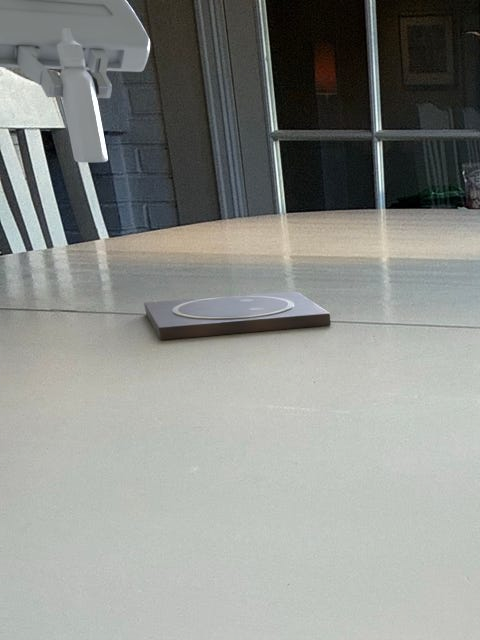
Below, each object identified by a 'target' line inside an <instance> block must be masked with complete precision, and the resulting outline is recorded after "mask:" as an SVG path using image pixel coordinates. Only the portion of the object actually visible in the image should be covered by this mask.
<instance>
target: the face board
mask: <svg viewBox="0 0 480 640" xmlns="http://www.w3.org/2000/svg"><path fill="white" fill-rule="evenodd" d="M143 305H144V311H145V314H146V316H147V318H148V319H149V321H150V323H151V325H152V327H153V328H154V330H155V332H156V334H157V336H158V338H159V339H160V341H168V340H169V341H170V340H178V339H190V338H201V337H202V338H203V337H212V336H226V335H236V334H249V333H258V332H259V333H260V332H271V331H281V330H291V329H292V330H293V329H304V328H314V327H315V328H317V327H327V326H331V324H332V323H331V314H330V312H329V311H327V310H325V309H324V308H322V307H321V306H320V305H318V304H316V303H315V302H314V301H312V300H311V299H309V298H307V297H306V296H305V295H303V294H301V293H300V292H298V291H296V290H295V291H283V292H269V293H256V294H241V295H240V294H239V295H229V296H227V295H226V296H218V297H217V296H216V297H215V296H214V297H202V298H188V299H176V300H175V299H173V300H162V301H147V302H144V303H143Z"/></svg>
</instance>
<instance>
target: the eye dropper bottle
mask: <svg viewBox="0 0 480 640" xmlns="http://www.w3.org/2000/svg"><path fill="white" fill-rule="evenodd" d="M62 33H63V39H62V41H61V42H60V43H58V44H57V50H58V55H59V60H60V65H61V67H64V69H61V71H60V73H59V76H60V77H59V79H61V80H62V83H63V92H62V93H63V97H61V102H62V106H63V111H64V116H65V121H66V126H67V131H68V136H69V140H70V146H71V151H72V155H73V160H74V161H75V162H76V163H106V162H108V161H109V157H108V150H107V145H106V140H105V135H104V129H103V124H102V119H101V118H102V117H101V112H100V107H99V102H98V98H97V96H96V91H95V85H94V81H93V79H92V77H91V75H92V74H90V73H89V72H88V70H85V69H83V67H86V65H85V60H84V54H83V49H82V45H81V44H79V43H77V42H76V41H75V40H74V39H73V36H72V34H71V31H70V28H62Z"/></svg>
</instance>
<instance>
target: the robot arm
mask: <svg viewBox="0 0 480 640" xmlns="http://www.w3.org/2000/svg"><path fill="white" fill-rule="evenodd" d="M62 28H70V31H71V34H72V36H73V39H74V40H75V41H76V42H77V43H79V44H81V45H82V49H83V54H84V60H85V65H86V67H83V69H85V70H86V71H90V72H91V74H90V75H91V77H92V79H93V81H94V85H95V91H96V96H97V99H111V97H112V91H113V86H112V83H111V81H110V79H109V77H108V76H107V72H130V73H131V72H132V73H142V72H144V70H145V67H146V65H147V63H148V59H149V55H150V52H151V51H150V50H151V40H150V38H149V37H150V36H149V35H148V33H147V31H146V29H145V28H144V26H143V23H142V22H141V20H140V19H139V17H138V15H137V14H136V12H135V10H133V8H132V6H131V5H130V4H129V2H128V1H127V0H0V68H17V69H20V71H21V72H22V74H23V75H25V76H26V77H28V78H29V79H31V81H33V82H34V83H36V84H37V85H39V86H40V87H41V88H42V90H43V92H44V94H45V96H46V97H47V98H62V97H63V93H62V92H63V83H62V80H61V79H59V77H60V76H59V75H60V73H58V71H57V70H62V69H64V67H61V65H60V60H59V55H58V50H57V44H58V43H60V42H61V41H62V39H63V33H62ZM50 69H51V70H50Z"/></svg>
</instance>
